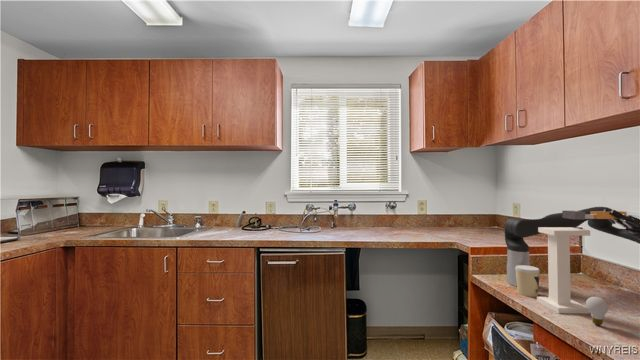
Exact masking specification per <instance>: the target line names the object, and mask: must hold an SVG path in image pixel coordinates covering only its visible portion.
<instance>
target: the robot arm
mask: <svg viewBox="0 0 640 360" xmlns="http://www.w3.org/2000/svg"><path fill="white" fill-rule="evenodd" d="M578 211H581V212H585V214H590V211H611V213H610V214H611V215H613V216H614V217H616V218H618V219H568V218H563V217H562V212H559V213H556V212H555V213H551V214H547V215H545V216H543V217H542V218H534V219H531V218H530V219H529V218H528V219H525V218H521V217H520V218H518V217H510V218H508V219H506V221H505V223H504V240H505V245H506V248H507V249H506V251H507V254H506V255H507V263H506V282H507V284H508V285H510V286H513V287H514V286H515V287H517V280H516V269H515V267H516V266H517V265H527V266H530V246H529V245H528V243H527V242H525V238H528V237H529V238H530V237H532V236H533V237H534V236H537V235H541V234H542V235H543V233H540V232H538V227H572V228H578V227H579V226H581V225H582V224H583V223H585V222H587V225H588V226H589V227H590V228H591V229H594V230H596V231H598V232H603V233H606V234H609V235H612V236H615V237H618V238H619V237H620V238H622V239H625V240H629V241H631V242H634V243H637V244H640V218H637V217H635V216H632V215H629V214H627V215H625V214H621V213H620V212H618V211H619V210H615V209H613V208H611V207H606V206H593V207H589V208H584V209H581V210H578ZM616 224H617V225H619V226H621V227H622V228H618V227H615V226H613V225H616Z"/></svg>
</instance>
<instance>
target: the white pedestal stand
mask: <svg viewBox="0 0 640 360" xmlns="http://www.w3.org/2000/svg"><path fill="white" fill-rule="evenodd" d="M538 232H540V233H542V234H545V235H547V259H548V260H547V263H548V264H547V267H548V269H547V271H548V274H547V275H548V279H547V280H548V296H537V297H536V302H537V303H539V304H541V305H543V306H545V307H547V308H548V309H550V310H551V311H554V312H555V313H557V314H591V312H590V311H589V309H588V308H587V306H586V305H584V304H581V303H579V302H577V301H576V300H573V299H571V296H572V295H571V253H570V250H571V249H570V248H571V245H570V244H571V243H570V240H571V239H570V238H571V237H572V236H573V237H575V236H576V237H577V236H580V237H581V236H586V237H587V236H591V230H589V229H584V228H578V227H576V228H572V227H538ZM570 236H571V237H570Z"/></svg>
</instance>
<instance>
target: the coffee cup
mask: <svg viewBox="0 0 640 360" xmlns="http://www.w3.org/2000/svg"><path fill="white" fill-rule="evenodd" d="M515 269H516V280H517V286H516V288H517V294H519V295H520V296H524V297H530V298H537V297H539V287H540V272H541V270H540V268H538V267H535V266H534V265H533V266H532V265H529V266H527V265H517V266H516V267H515Z"/></svg>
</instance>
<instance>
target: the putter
mask: <svg viewBox="0 0 640 360" xmlns="http://www.w3.org/2000/svg"><path fill="white" fill-rule="evenodd" d="M617 211H618V212H620V213H621V214H625V215H627V216H628V214H627V211H619V210H617ZM561 213H562V217H563V218H568V219H618V218H616V217H614V216H613V215H611V214H610V213H611V211H590V214H585V212H581V211H579V210H562V211H561Z"/></svg>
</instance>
